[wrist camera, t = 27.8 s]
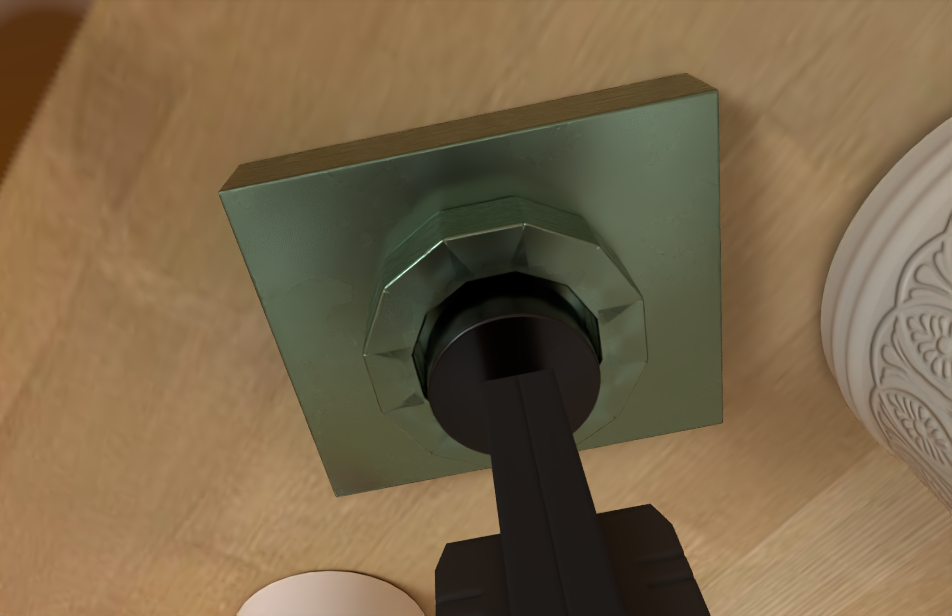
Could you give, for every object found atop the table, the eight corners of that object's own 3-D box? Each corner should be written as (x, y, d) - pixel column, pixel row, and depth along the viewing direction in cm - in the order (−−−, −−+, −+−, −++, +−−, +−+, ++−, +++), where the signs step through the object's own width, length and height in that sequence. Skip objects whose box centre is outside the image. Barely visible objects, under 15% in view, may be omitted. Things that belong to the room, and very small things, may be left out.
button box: (342, 451, 23) (328, 544, 20) (238, 164, 18) (194, 220, 15) (698, 382, 23) (748, 464, 19) (687, 72, 18) (752, 105, 14)
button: (445, 426, 18) (447, 471, 17) (410, 296, 16) (410, 333, 15) (593, 397, 18) (609, 440, 17) (576, 263, 16) (592, 297, 15)
